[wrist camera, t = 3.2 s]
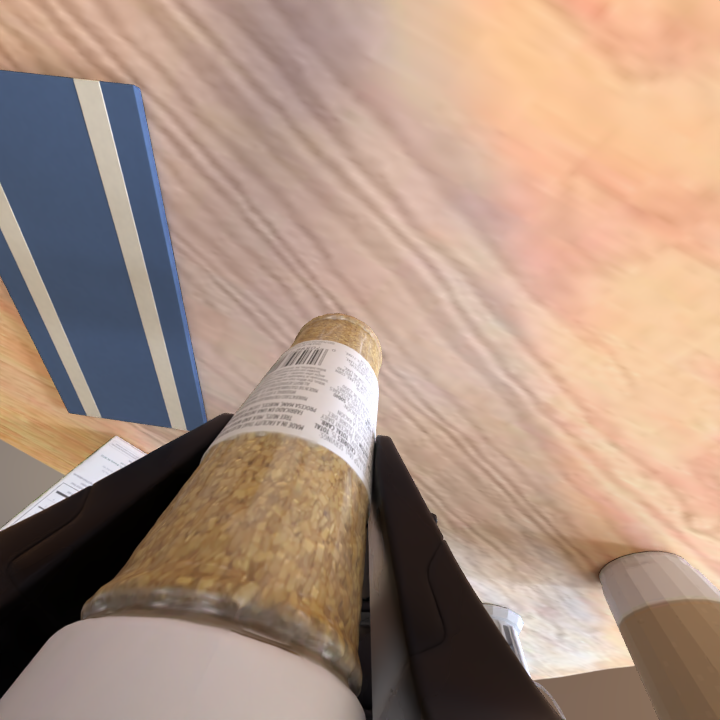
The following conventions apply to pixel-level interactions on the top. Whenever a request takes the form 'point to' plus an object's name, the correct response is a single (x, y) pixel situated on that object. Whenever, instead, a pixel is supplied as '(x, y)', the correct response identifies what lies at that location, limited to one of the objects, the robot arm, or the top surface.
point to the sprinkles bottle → (240, 565)
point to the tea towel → (93, 250)
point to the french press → (513, 636)
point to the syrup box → (83, 476)
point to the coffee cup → (669, 631)
